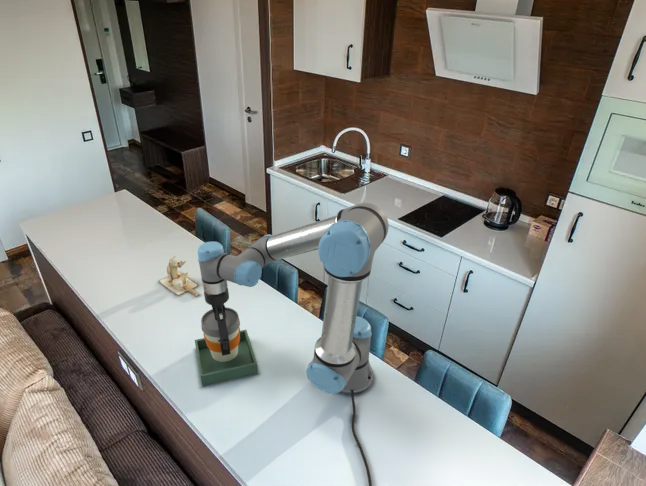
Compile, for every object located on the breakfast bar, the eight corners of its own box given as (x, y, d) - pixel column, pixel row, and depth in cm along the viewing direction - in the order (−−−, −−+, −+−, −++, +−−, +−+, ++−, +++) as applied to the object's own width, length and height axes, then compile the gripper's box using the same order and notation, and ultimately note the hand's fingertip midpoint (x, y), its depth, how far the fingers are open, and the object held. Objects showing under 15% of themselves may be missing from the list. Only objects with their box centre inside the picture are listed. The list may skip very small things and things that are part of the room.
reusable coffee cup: (228, 335, 162) (224, 302, 154) (250, 352, 155) (247, 318, 147) (199, 352, 155) (192, 318, 147) (220, 371, 148) (215, 336, 139)
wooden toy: (158, 281, 200) (152, 254, 192) (179, 272, 206) (174, 246, 198) (185, 302, 187) (179, 274, 179) (206, 292, 192) (202, 265, 185)
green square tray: (258, 373, 152) (257, 363, 149) (202, 386, 147) (200, 376, 145) (247, 339, 167) (246, 329, 164) (196, 349, 162) (194, 339, 160)
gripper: (234, 309, 131) (240, 363, 143) (221, 267, 151) (228, 317, 163) (208, 314, 130) (217, 368, 141) (199, 270, 149) (207, 321, 161)
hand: (223, 341), depth 152 cm, fingers closed on reusable coffee cup, 12 cm apart
